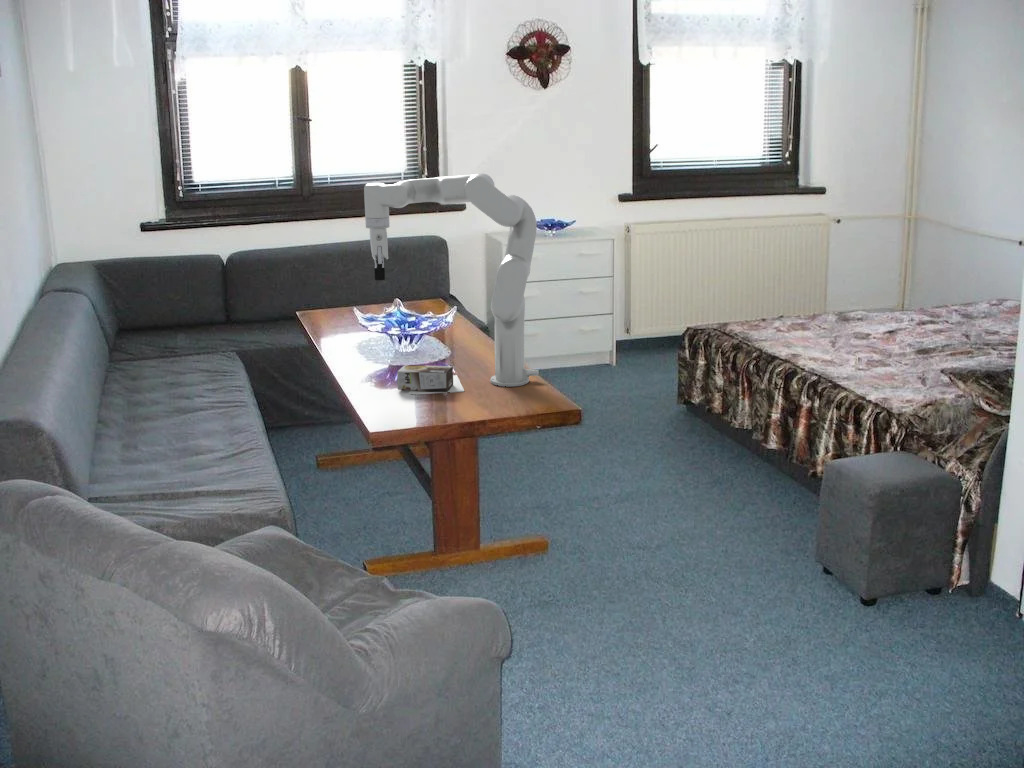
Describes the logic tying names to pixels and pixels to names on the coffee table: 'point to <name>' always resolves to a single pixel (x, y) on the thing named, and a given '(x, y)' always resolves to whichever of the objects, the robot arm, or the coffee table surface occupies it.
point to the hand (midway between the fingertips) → (379, 279)
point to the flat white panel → (455, 388)
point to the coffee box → (425, 378)
